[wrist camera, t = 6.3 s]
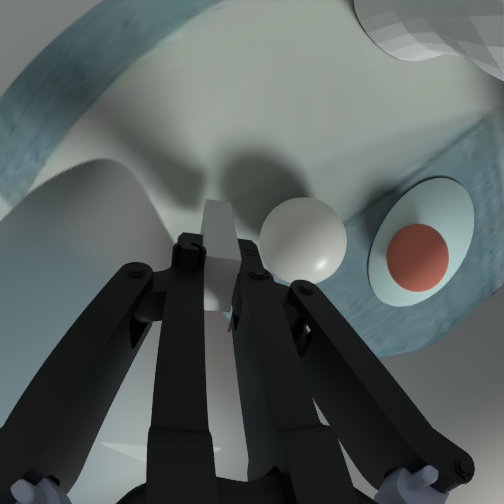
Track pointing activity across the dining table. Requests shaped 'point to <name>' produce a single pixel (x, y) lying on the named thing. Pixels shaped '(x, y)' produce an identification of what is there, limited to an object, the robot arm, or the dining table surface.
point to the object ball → (417, 257)
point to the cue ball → (303, 240)
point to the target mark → (429, 213)
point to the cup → (437, 29)
